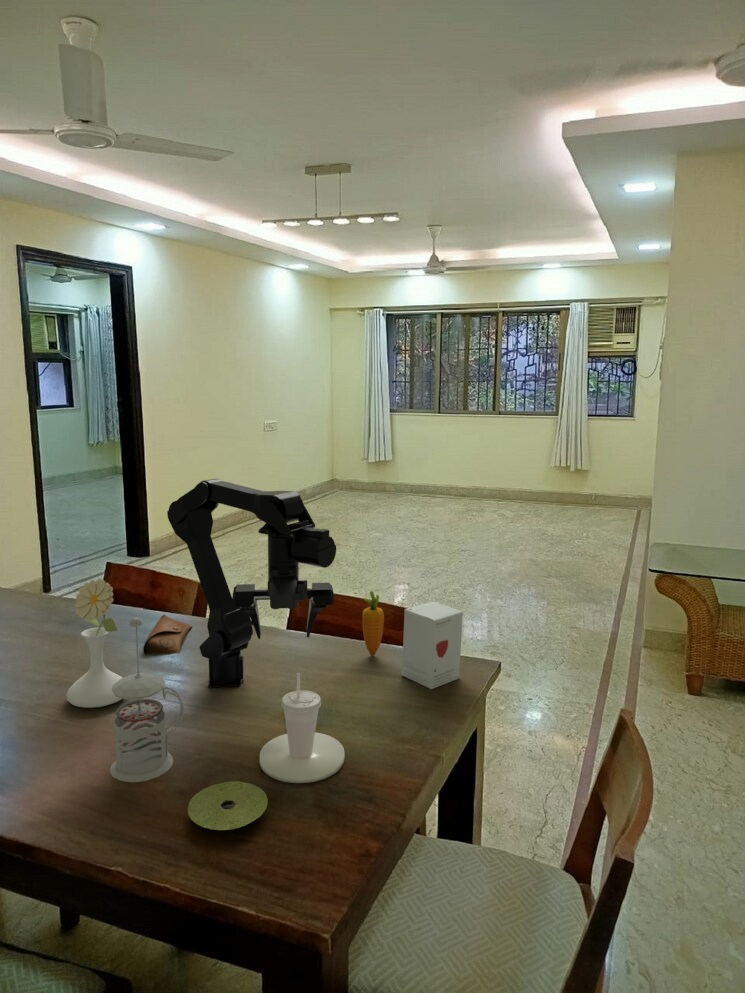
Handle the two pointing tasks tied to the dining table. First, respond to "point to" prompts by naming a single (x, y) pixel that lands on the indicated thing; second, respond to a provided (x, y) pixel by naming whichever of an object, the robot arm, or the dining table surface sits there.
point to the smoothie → (301, 720)
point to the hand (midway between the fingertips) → (283, 637)
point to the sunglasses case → (166, 637)
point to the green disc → (227, 805)
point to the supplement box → (432, 644)
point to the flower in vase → (95, 648)
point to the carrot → (373, 624)
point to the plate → (302, 760)
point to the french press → (141, 726)
